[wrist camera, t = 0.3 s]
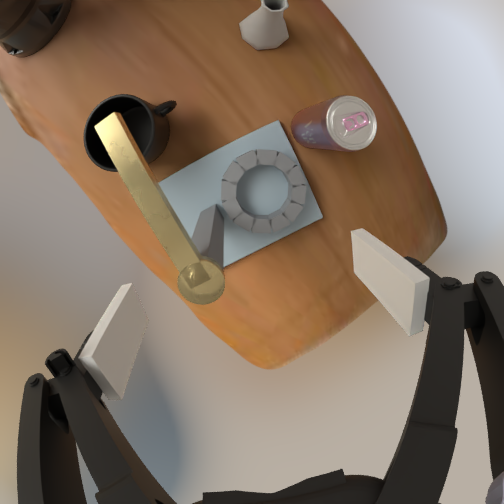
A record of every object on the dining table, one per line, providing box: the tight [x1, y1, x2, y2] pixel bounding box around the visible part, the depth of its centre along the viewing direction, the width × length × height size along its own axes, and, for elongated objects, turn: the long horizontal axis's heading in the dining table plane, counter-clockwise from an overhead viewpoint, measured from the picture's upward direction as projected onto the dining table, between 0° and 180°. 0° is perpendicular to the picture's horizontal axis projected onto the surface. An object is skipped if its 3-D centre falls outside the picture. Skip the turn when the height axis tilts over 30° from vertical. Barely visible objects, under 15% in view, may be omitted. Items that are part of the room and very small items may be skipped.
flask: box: [239, 0, 289, 50], centre depth 27 cm, size 7×7×10 cm
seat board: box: [159, 120, 323, 271], centre depth 32 cm, size 16×20×20 cm
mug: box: [84, 94, 177, 172], centre depth 32 cm, size 9×12×9 cm
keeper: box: [94, 112, 225, 304], centre depth 19 cm, size 4×16×1 cm, turn 26°
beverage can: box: [291, 95, 377, 152], centre depth 31 cm, size 6×6×15 cm
